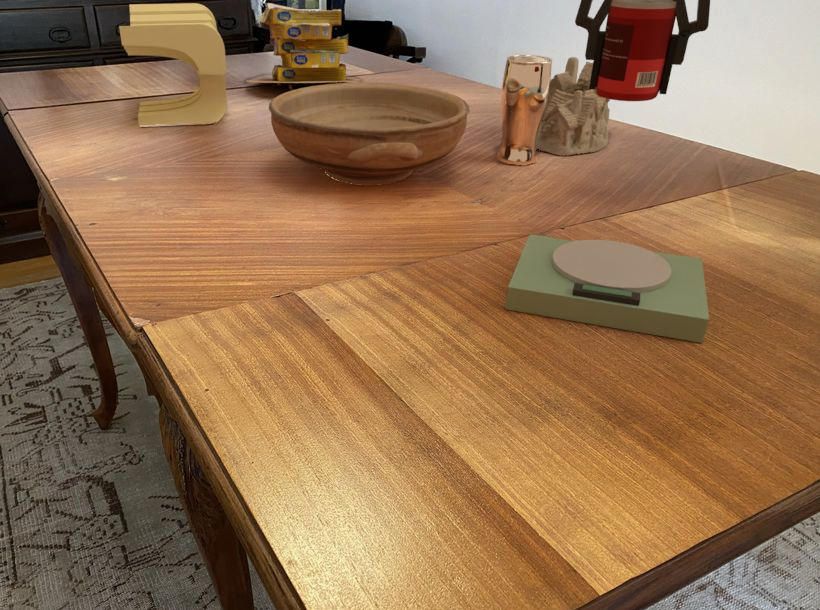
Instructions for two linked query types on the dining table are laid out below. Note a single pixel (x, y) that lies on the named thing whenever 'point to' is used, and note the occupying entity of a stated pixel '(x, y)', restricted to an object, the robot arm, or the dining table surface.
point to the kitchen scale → (611, 286)
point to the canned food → (635, 49)
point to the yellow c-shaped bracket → (180, 58)
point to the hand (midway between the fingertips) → (627, 89)
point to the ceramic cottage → (573, 114)
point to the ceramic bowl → (368, 128)
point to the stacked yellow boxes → (305, 45)
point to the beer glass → (523, 106)
